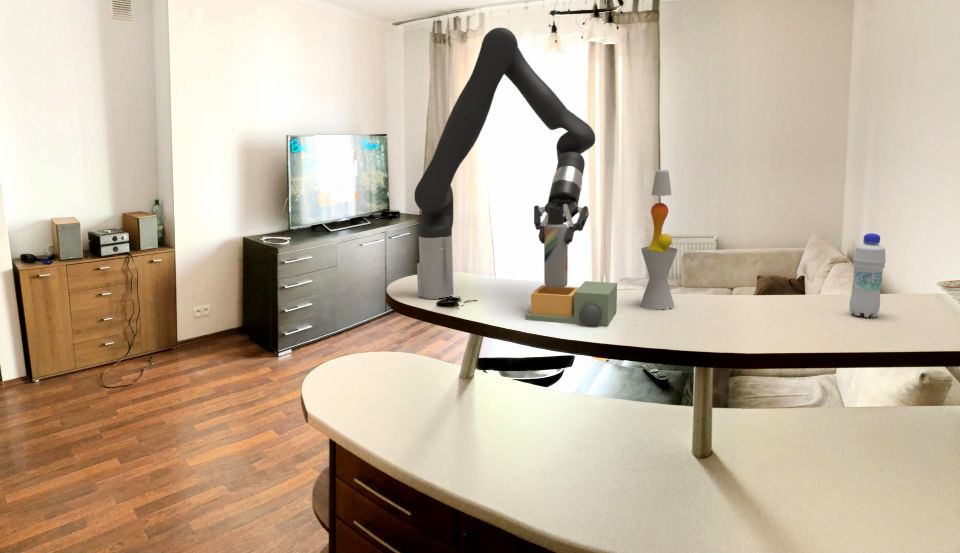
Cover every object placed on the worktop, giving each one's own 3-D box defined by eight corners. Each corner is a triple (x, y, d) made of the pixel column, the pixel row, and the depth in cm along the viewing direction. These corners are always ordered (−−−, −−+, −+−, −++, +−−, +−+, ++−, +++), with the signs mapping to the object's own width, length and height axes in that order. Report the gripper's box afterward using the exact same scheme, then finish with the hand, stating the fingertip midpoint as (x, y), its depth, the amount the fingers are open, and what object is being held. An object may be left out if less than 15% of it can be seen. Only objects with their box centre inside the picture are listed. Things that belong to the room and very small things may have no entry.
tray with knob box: (523, 321, 158) (523, 290, 157) (540, 305, 173) (541, 277, 171) (606, 327, 151) (607, 295, 150) (617, 310, 166) (618, 281, 165)
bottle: (874, 312, 160) (883, 231, 156) (883, 319, 154) (892, 235, 150) (844, 311, 162) (852, 231, 158) (851, 318, 156) (860, 235, 152)
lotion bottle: (565, 282, 165) (565, 203, 161) (569, 287, 159) (569, 205, 155) (542, 283, 165) (542, 203, 161) (545, 288, 159) (545, 206, 155)
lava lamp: (632, 306, 171) (636, 170, 164) (650, 299, 177) (655, 168, 170) (663, 311, 165) (669, 171, 158) (681, 305, 171) (687, 169, 164)
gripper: (535, 178, 166) (522, 231, 158) (592, 178, 161) (581, 233, 153) (541, 197, 172) (529, 250, 164) (595, 198, 167) (586, 252, 159)
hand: (554, 241), depth 158 cm, fingers closed on lotion bottle, 5 cm apart
